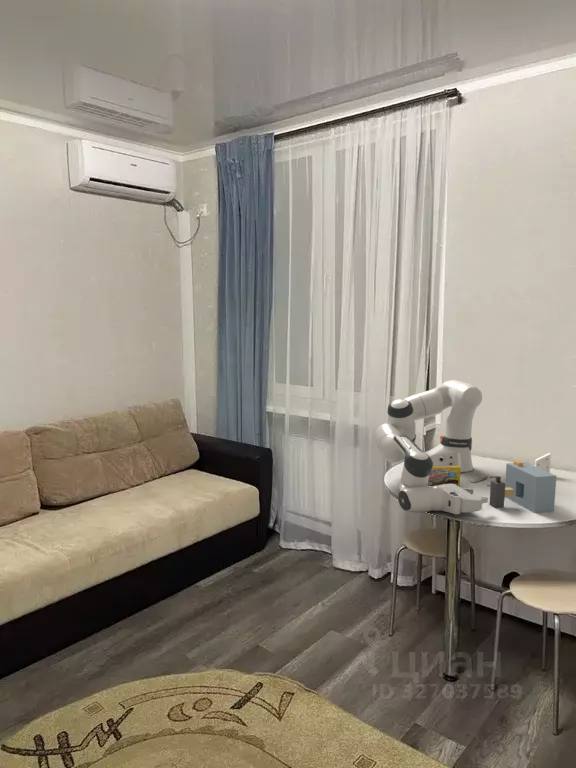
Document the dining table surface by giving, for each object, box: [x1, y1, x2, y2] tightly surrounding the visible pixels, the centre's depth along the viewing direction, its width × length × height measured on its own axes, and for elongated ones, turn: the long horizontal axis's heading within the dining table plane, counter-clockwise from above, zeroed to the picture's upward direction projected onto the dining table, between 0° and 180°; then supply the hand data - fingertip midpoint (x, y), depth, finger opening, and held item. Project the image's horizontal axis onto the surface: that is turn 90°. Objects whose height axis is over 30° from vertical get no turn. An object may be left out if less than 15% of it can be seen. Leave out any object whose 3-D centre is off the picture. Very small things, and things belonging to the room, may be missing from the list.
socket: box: [504, 460, 557, 514], centre depth 216 cm, size 8×18×14 cm, turn 13°
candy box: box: [427, 466, 462, 487], centre depth 236 cm, size 16×2×8 cm, turn 95°
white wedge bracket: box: [534, 452, 552, 473], centre depth 253 cm, size 4×10×9 cm, turn 84°
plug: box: [489, 475, 514, 509], centre depth 213 cm, size 8×4×11 cm, turn 103°
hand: (479, 495), depth 211 cm, fingers open, 8 cm apart
